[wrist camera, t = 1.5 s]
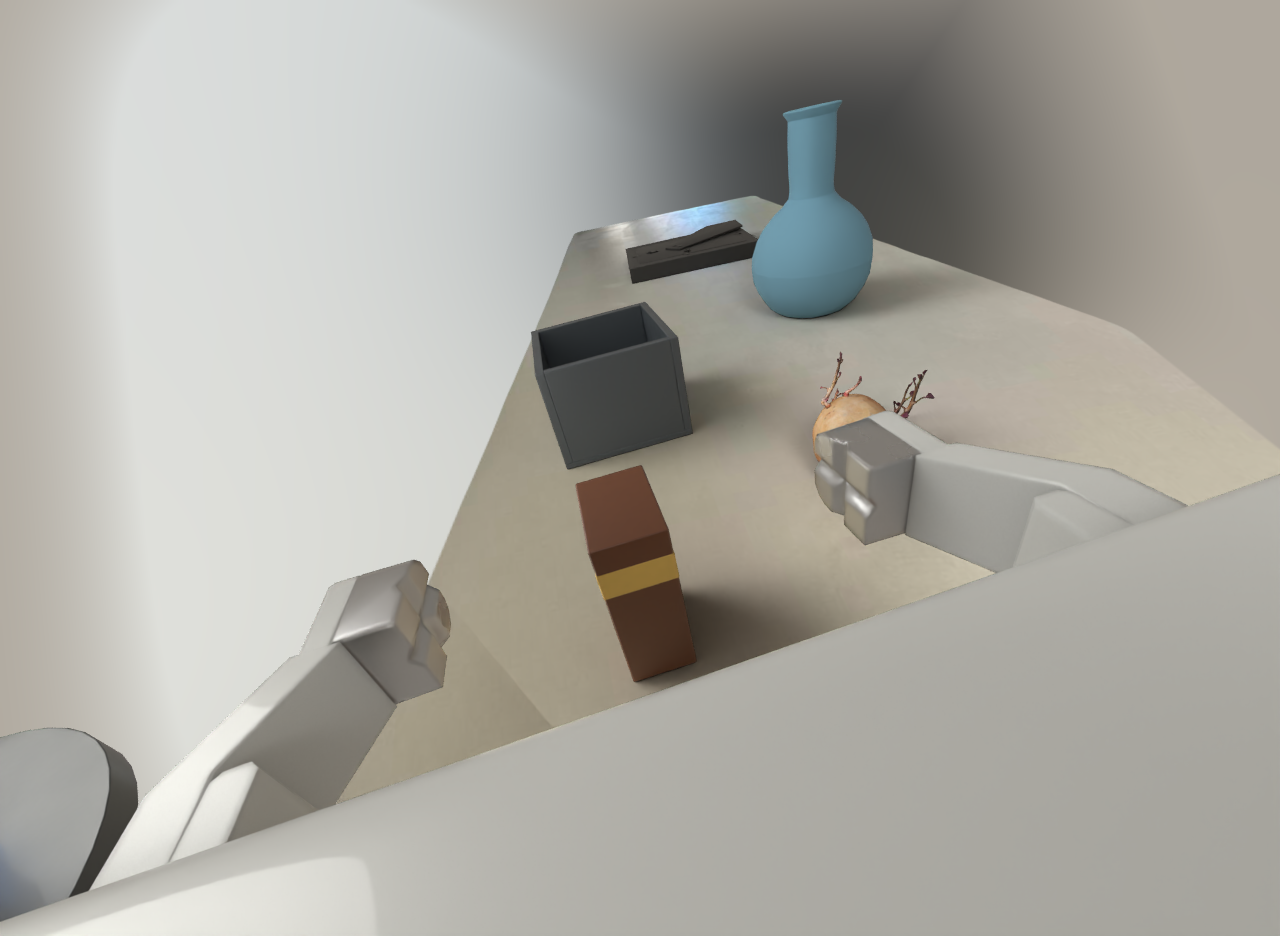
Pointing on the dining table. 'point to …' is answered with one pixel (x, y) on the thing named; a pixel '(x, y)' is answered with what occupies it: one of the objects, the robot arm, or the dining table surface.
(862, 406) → the vegetable
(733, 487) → the dining table surface
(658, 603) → the chocolate box
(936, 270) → the dining table surface
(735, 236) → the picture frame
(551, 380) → the gray open box
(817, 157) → the vase
